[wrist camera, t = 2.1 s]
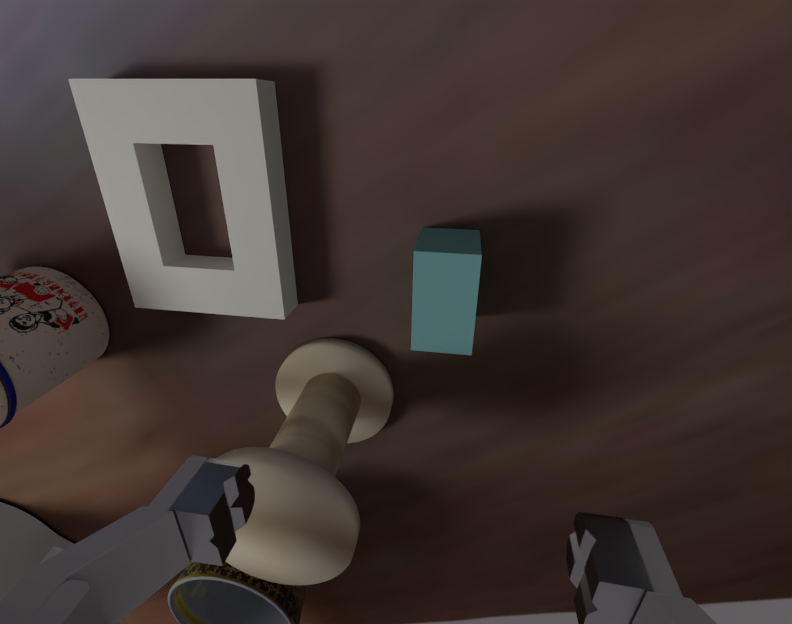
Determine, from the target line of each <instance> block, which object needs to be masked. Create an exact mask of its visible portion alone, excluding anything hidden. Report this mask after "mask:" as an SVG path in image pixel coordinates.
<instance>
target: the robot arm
mask: <svg viewBox="0 0 792 624" xmlns="http://www.w3.org/2000/svg"><path fill="white" fill-rule="evenodd" d="M250 475H251V471H250V467H249V465H247V464H242V463H237V462H231V461H225V460H220V459H214V458H207V457H201V456H195V455H193V456H191V457H189V458H188V459H187V460H186V461H185V462H184V463H183V464H182V465H181V467H180V468H179V469H178V470H177V472H176V473H175V474H174V475H173V476H172V478H171V479H170V480H169V481H168V483H167V484H166V485H165V486H164V487H163V489H162V490H161V491H160V492H159V494H158V495H157V496H156V497H155V498H154V500H153V501H152V502H151V503H150V505H149V506H148V507H146V506H142V507H140V508H138V509H136V510H134V511H133V512H131V513H129V514H127V515H126V516H124V517H122V518H120V519H118V520H117V521H115V522H113V523H111V524H110V525H108V526H106V527H104V528H102V529H101V530H99V531H97V532H95V533H94V534H92V535H90V536H88V537H86V538H85V539H83V540H81V541H79V542H78V543H76V544H74V543H72V542H70V541H68V540H66V539H64V538H62V537H60V536H59V535H57V534H56V533H55V532H53V531H52V530H51V529H50V528H48V527H47V526H46V525H44V524H43V523H42V522H40V521H39V520H37V519H36V518H34V517H33V516H31V515H29V514H27V513H26V512H24V511H22V510H20V509H17V508H15V507H13V506H10V505H8V504H5V503H2V502H0V624H118V623H119V622H120V621H121V620H123V619H124V618H125V617H126V616H127V615H129V614H130V613H131V612H132V611H133V610H135V609H136V608H137V607H138V606H139V605H141V604H142V603H143V602H144V601H146V600H147V599H148V598H149V597H150V596H152V595H153V594H154V593H155V592H156V591H158V590H159V589H160V588H161V587H162V586H164V585H165V584H166V583H167V582H168V581H170V580H171V579H172V578H173V577H175V576H176V575H177V574H178V573H179V572H181V571H182V570H183V569H184V568H185V567H187V566H188V565H189V564H190V561H192V562H199V563H205V564H212V565H218V566H223V565H224V563H225V561H226V559H227V558H228V556H229V554H230V552H231V550H232V548H233V547H234V545H235V543H236V541H237V539H236V531H237V530H239V529H240V528H241V527H243V526H244V525H246V523H247V521H248V519H249V517H250V515H251V513H252V509H253V506H254V502H255V490H254V486H253V485H252V484H251V483H250V482H249V481H248V479H249V477H250ZM573 523H574V528H575V532H574V533H572V534H571V535H569V539H568V543H567V557H566V558H567V568H568V573H569V579H570V580H571V582H572V583H573V584H574V585H575V587H576V588H577V591H576V594H575V598H574V604H575V609H576V614H577V618H578V623H579V624H716V623H715V622H714V621H713V620H712V619H711V618H710V617H709V616H708V615H707V614H706V613H705V612H704V611H703V610H702V609H701V608H700V607H699V606H698V605H697V604H696V603H695V602H694V601H693V600H692V599H690V598H685V597H683V595H682V593H681V590H680V588H679V586H678V583H677V581H676V579H675V576H674V574H673V572H672V569H671V567H670V565H669V562H668V560H667V558H666V555H665V553H664V551H663V548H662V546H661V544H660V542H659V539H658V537H657V535H656V532H655V530H654V528H653V526H652V525H651V524H650V523H649V522H645V521H638V520H631V519H623V518H620V517H612V516H605V515H597V514H590V513H582V512H578V513H577V514H576V516H575V519H574V522H573Z"/></svg>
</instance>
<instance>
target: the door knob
mask: <svg viewBox="0 0 792 624" xmlns="http://www.w3.org/2000/svg"><path fill="white" fill-rule="evenodd" d="M276 394H277V398H278V401H279V404H280V406H281V408H282V410H283V411H284V413H285V414H286V416H287V418H286V420H285V421H284V423H283V425H282V427H281V428H280V430H279V432H278V433H277V435H276V437H275V439H274V440H273V442H272V444H271V445H270V447H269V448H266V447H246V448H240V449H235V450H232V451H229V452H227V453H224V454H222V455H220V456H219V457H217V458H216V459H220V460H225V461H231V462H237V463H242V464H247V465H249V467H250V471H251V475H250V477H249V479H248V481H249V482H250V483H251V484H252V485H253V486H254V490H255V502H254V506H253V509H252V513H251V515H250V517H249V519H248V521H247V523H246V525H244V526H243V527H241V528H240V529H239V530H237V531H236V539H237V541H236V543H235V545H234V547H233V548H232V550H231V552H230V554H229V556H228V558H227V559H226V561H225V562H227V563H228V564H230V565H232V566H233V567H235V568H237V569H239V570H240V571H243V572H245V573H247V574H249V575H251V576H254V577H257V578H259V579H263V580H266V581H270V582H274V583H279V584H286V585H312V584H318V583H322V582H325V581H328V580H330V579H333V578H334V577H336V576H338V575H339V574H341V573H342V572H343V571H344V570H345V569H346V568H347V567H348V565H349V564H350V562H351V560H352V558H353V555H354V551H355V547H356V543H357V539H358V535H359V532H360V516H359V512H358V509H357V506H356V504H355V502H354V500H353V498H352V496H351V495H350V493H349V492H348V490H347V489H346V488H345V487H344V486H343V485H342V483H341V482H340V481H338V480H337V479H336V478H335V475H336V472H337V469H338V466H339V464H340V461H341V458H342V455H343V453H344V450H345V447H346V444H347V443H354V442H359V441H363V440H365V439H368V438H370V437H371V436H373V435H375V434H376V433H377V432H379V431H380V430H381V428H382V427H383V426H384V425H385V423H386V422H387V420H388V417H389V415H390V411H391V407H392V403H393V397H394V390H393V384H392V380H391V378H390V375H389V373H388V371H387V369H386V368H385V367H384V365H383V364H382V362H381V361H380V360H379V359H378V358H377V357H376V356H375V355H373V354H372V353H371V352H370V351H368V350H367V349H365V348H364V347H362V346H360V345H358V344H356V343H353V342H350V341H347V340H343V339H338V338H318V339H314V340H310V341H307V342H305V343H303V344H301V345H299V346H298V347H297V348H295V349H294V350H293V351H292V352H291V353H290V354H289V356H288V357H287V359H286V360H285V361H284V363H283V364H282V366H281V367H280V369H279V371H278V374H277V378H276Z"/></svg>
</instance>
